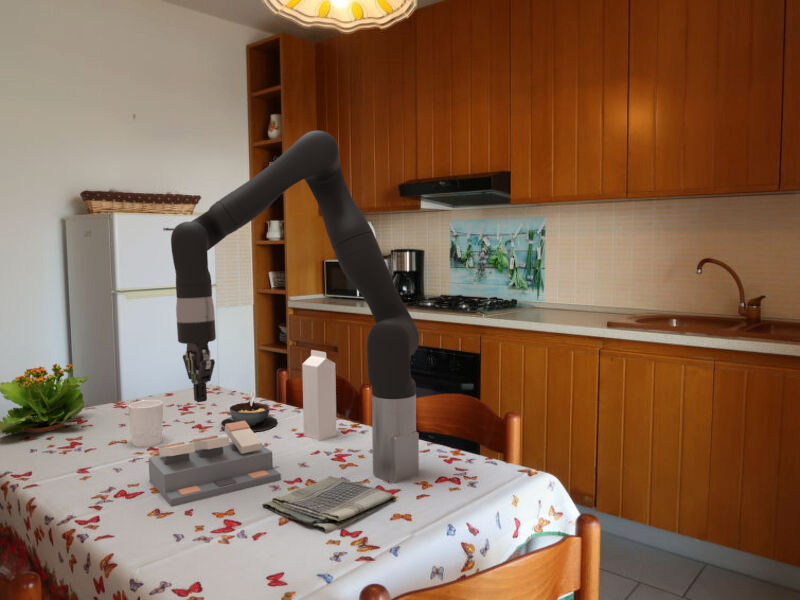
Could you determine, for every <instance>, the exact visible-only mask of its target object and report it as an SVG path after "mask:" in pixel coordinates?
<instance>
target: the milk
mask: <svg viewBox="0 0 800 600" xmlns="http://www.w3.org/2000/svg"><path fill="white" fill-rule="evenodd" d="M301 365H302V367H301V368H302V370H301V371H302V407H303V408H302V409H303V410H302V411H303V436H304V437H305V438H309V439H312V440H315V441H323V440H325V439H328V438H331V437H335V436H337V394H336V393H337V391H336V390H337V388H336V387H337V384H336V383H337V381H336V362H334V361H332V360H331V359H329V358H327V352H325V351H322V350H321V351H320V350H315V349H314V350H313V349H311V351H310V356H309V357H308V358H307V359H306V360H305V361H304V362H303V363H302V364H301Z"/></svg>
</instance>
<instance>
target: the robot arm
mask: <svg viewBox="0 0 800 600" xmlns="http://www.w3.org/2000/svg"><path fill="white" fill-rule="evenodd" d="M303 180H304V181H305V183H306V184H307V186H308V188H309V189H310V192H311V193H312V195H313V197H314V199H315V201H316V203H317V204H318V207H319V209H320V213H321V216H322V220H323V224H324V227H325V231H326V233H327V236H328V239H329V241H330V245H331V247H332V250H333V252H334V254H335V257H336V259H337V261H338V264H339V266H340V268H341V270H342V272H343V274H344V275H345V277H346V278H347V279H348V280H349V281H350V284H352V285H353V287H354V288H355V289H356V290H357V291H358V293H359V294H360V296H362V298H363V300H364V301H365V302H366V304H367V305H368V307H369V310H370V314H372V318H373V320H374V323H375V324H373V325H372V326H371V328H370V329H369V332H368V333H367V339H366V354H367V355H366V357H367V358H366V359H367V375H368V381H369V385H370V387H371V422H372V423H371V426H372V429H371V430H372V431H371V434H372V435H371V436H372V475H373V477H374V478H377V479H379V480H383V481H386V482H393V483H394V484H395V483H399V482H402V481H407V480H410V479H414V478H417V477H419V476H420V456H419V455H420V451H419V447H420V446H419V442H420V441H419V440H420V439H419V438H420V437H419V435H420V434H419V432H418V431H417V416H416V415H417V410H416V409H417V391H416V390H417V387H416V386H417V384H416V380H415V379H413V378H412V374H411V356H412V355H414V354H415V353H416V351H417V350H418V347H419V345H420V333H419V330H418V327H417V324H416V323H415V321H414V319H413V317H412V316H411V314H410V312H409V310H408V308H407V306H405V304H404V301H403V299H402V298H401V295H400V294H399V291H398V290H397V287H396V285H395V283H394V281H393V278H392V277H393V276H392V275H391V272H390V269H389V268H388V265H387V262H386V260H385V258H384V256H383V253H382V251H381V248H380V246H379V243H378V241H377V238H376V236H375V233H374V232H373V229H372V227H371V226H370V223H369V222H368V220H367V218H366V217H365V215H364V213H363V212H362V211H361V209H360V208H359V206H358V204H357V203H356V202H355V201H354V199H353V197H352V195H351V193H350V190H349V188H348V185H347V181H346V180H345V177H344V173H343V170H342V165H341V161H340V150H339V146H338V143H337V141H336V139H335V138H334V136H332V134H330V133H328V132H326V131H323V130H317V129H316V130H312V131H309V132H306V133H305V134H303V135H301V136H300V138H299V139H297V140H296V141H295V142H294V143H293V144H292V145H291V146H290V147H288V149H286V151H284V152H283V153H281V155H280V156H279V157H277V159H275V160H274V161H273V162H271V163H270V164H269V165H268V166H266V167H265V168H264V169H263V170H262V171H260V172H259V173H257V174H256V175H255V176H253V177H252V178H251V179H249V180H248V181H246V182H245V183H243V184H242V185H240V186H239V187H237V188H236V189H234V190H233V191H230V192H229V193H227V194H226V195H225V196H223V197H222V198H220V199H219V200H217V201H216V202H214V203H213V204H212V205H211V206H209V209H208V210H207V211H205V212H203V213H202V214H201V215H199V216H198V217H196V218H194V219H193V220H191V221H184V222H181V223H179V224H177V225H176V226H175V227H174V229H173V230H172V232H171V236H170V244H171V245H170V246H171V247H170V248H171V255H172V261H173V267H174V271H175V291H176V305H175V312H176V313H175V314H176V330H177V342H178V343H180V344H183V345H185V344H186V351H185V354H183V355H182V360H183V362H184V367H185V369H186V374H187V377H188V379H189V380H190V381H191V383H192V384H193V385H192V386H193V398H194V401H195V402H197V403H203V402H206V401H208V394H207V393H208V392H207V384H208V382H211V379H212V376H213V371H214V368H215V364H216V363H215V362H216V361H215V359H211V351H210V348H209V342H213V341H215V340H216V339H217V338H216V337H217V335H216V334H217V333H216V319H215V317H216V316H215V305H214V299H213V287H212V277H211V273H210V271H209V261H208V251H209V250H211V249H212V248H213V247H216V245H217V244H219V243H220V242H221V241H223V240H224V239H225V238H226V237H228V236H229V235H230V234H233V233H234V232H236V231H238V230H239V229H241V228H243V227H244V226H247V224H248V223H250V222H252V221H253V220H255V219H256V218H257V217H259V216H260V215H261V214H263V212H264V211H265V210H267V209H268V208H269V207H270V206H271V205H272V204H273V203H274V202H275V201H276V200H277V199H278V198H279V197H280V196H281V195H282V194H284V193H285V192H286V191H287V190H288V189H290V188H292V187H293V186H294V185H296V184H298V183H299V182H301V181H303Z"/></svg>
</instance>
